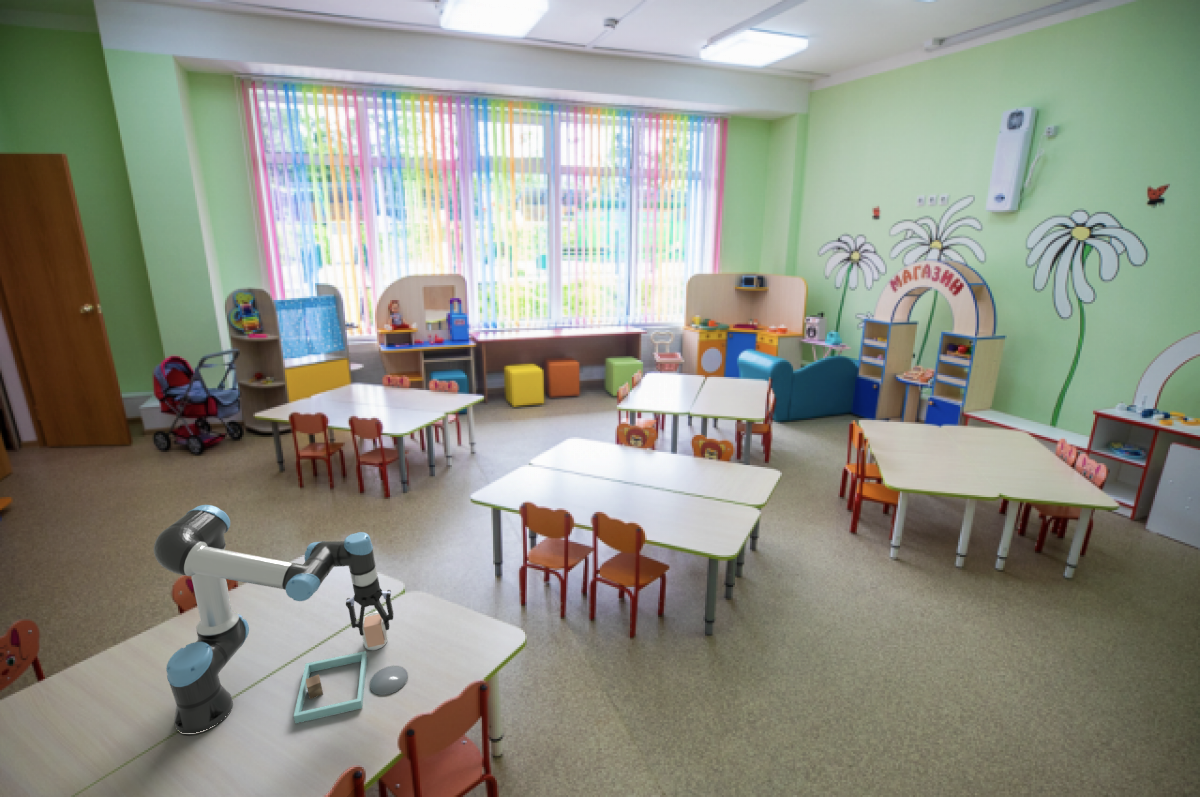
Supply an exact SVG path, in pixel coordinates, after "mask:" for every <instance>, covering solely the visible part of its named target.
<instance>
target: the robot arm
mask: <svg viewBox="0 0 1200 797" xmlns="http://www.w3.org/2000/svg"><path fill="white" fill-rule="evenodd" d="M230 528H231V519H230V517H229V515H228V514H227V513H226V512H225V511H224V510H222V509H220V508H219V507H218V506H215V505H212V504H201V505H198V506H196V507H194V508H193V509H191V510H189V511H187V512H186V514H185V515H183V516H182V517H180V518H179V519H178V520H176V521H175V522H173V523H172V524H171V525H170V526H167V528H165V529H163V531H161V532H160V533H159V534H158V536H157V537H156V539H155V541H154V545H153V555H154V557H155V560H156V561H157V563H158V564H159V565H160V566H161V567H162V568H164V569H166V571H169V572H171V573H173V574H176V575H180V576H187V577H191V581H192V585H193V591H194V596H195V601H196V604H197V610H198V615H199V622H198V623H197V625H196V627H195V628H196V633H197V634H196V635H197V641H195V642H191V643H189V644H186V645H185V647H181V648H179V649H178V650H177V651H175V652H174V653H173V654H172V656H170V658H169V660H168V661H167V664H166V667H165V669H166V677H167V682H168V683H169V686H170V689H171V692H172V695H173V698H174V701H175V704H176V708H175V713H174V720H173V721H174V723H173V724H174V726H176V727H175V729H176V728H177V730H179V731H180V732H182V733H196V732H200V731H203V730H206V729H209V728H210V727H212V726H214V725H216V724H217V723H219V722H220V721H221V720H223V719H224V718H225V716H227V715H228V713H229V712H230V711H232V710H231V709H233V708H234V707H233V706H234V701H233V698H232V695H231V694H230V692H228V691H227V689H226V688H225V687H224V686H223V685H222V684H221V680H220V677H219V675H220V672H221V671H222V669H223V668H224V667H225V666H226V664H228V662H229V661H230V660H231V659H232V658H233V656H234V655H235V654H236V653H237V652H238V651H239V649H241V647H242V646H243V644H244V643H245V642H246V639H247V638H248V636H249V632H250V626H249V623H248V621H247V620H246V619H245V618H243V615H241V614H240V613H238V612H236V611H234V610H232V605H231V600H230V594H229V593H230V592H229V589H228V583H227V580H230V581H235V582H236V581H237V582H240V583H241V582H242V583H247V584H252V585H258V586H262V587H269V588H274V589H280V590H285V593H286V595H287V597H288V598H291V599H292V600H293V601H296V602H304V601H307V600H309V599H310V598H312V596H313V595H314V594H315V593H316V592H317V591H318V589H319V588H320V587H321V584H323V582H324V580H326V578H327V577H328V575H329V574H330V573H331V571H332V570H333V568H336V567H348V569H349V572H350V573H349V574H350V578H351V583H352V589H353V594H354V595H353V596H352V597H351V598H350V597H347V598H346V600H345V606H346V607H347V608H348V613H349V618H350V624H351V628H352V629H356V628H358V632H359V635H360V636H362V635H364V639H365V644H366V645H367V641H366V636H365V631H364V623H363V618H364V616H365V610H366V608H368V607H370V606H373V607H374V608H375V609H376V611H377V612H378V613H379V615H380V616H381V618H382V628H383V634H384V639H385V640H387V636H389V635H388V631H389V630H390V622H389V621H393V619H394V610H393V605H392V599H391V597H392V596H391V595H392V591H391V589H387V591H386V590H385V591H384V590H382V589H381V586H380V582H379V577H378V570H377V565H376V562H375V561H376V560H375V555H374V546H373V544H372V543H373V542H372V540H371V537H370V535H369V534H368V533H367V532H362V531H359V532H358V531H357V532H356V533H351V534H349V535H347V536H346V538H344V540H343V541H341V540H339V541H337V540H335V541H332V540H331V541H327V540H322V541H314V542H311V543H309V544H308V545H307V547H306V550H305V552H304V563H296V562H291V561H285V560H280V559H274V558H269V557H264V556H259V555H254V554H249V553H243V552H237V551H233V550H228V549H226V546H227V544H226V539H225V533H227V532H228V531H229V529H230ZM382 597H383V599H384V600H385V604H386V609H387V611H386V610H385V608H384V607H383V605H382V603H381V600H380V599H381V598H382ZM355 603H357V604H358V605H359V606H360V612H359V617H358V618H359V619H358V620H357V616H356V610H355ZM387 641H388V640H387ZM230 713H231V712H230ZM230 713H229V714H230ZM228 716H229V715H228ZM228 716H227V717H228ZM225 719H226V718H225ZM225 719H224V720H225ZM224 720H223V721H224ZM177 730H176V731H177Z"/></svg>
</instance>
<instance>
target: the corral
mask: <svg viewBox="0 0 1200 797" xmlns="http://www.w3.org/2000/svg"><path fill="white" fill-rule="evenodd" d="M360 662H361V663H360ZM355 663H360V670H359V678H358V680H359V681H358V689H357V696H356V697H357V698H355V699H350V700H345V701H342V702H338V703H337V702H336V703H332V704H328V705H325V706H321V707H316V708H312V709H308V710H307V709H306V710H303V709H304V703H305V700H304V699H306V695H307V691H308V689H307V684H306V679H308V678H310V677H311V673H312V672H313V673H314V672H318V671H322V670H327V669H333V668H337V667H342V666H345V665H350V664H355ZM367 664H368V654H367V651H366V650H364V651H359V652H354V653H349V654H345V655H340V656H336V657H335V656H334V657H331V658H326V659H320V660H316V661H311V662H306V663H305V666H304V669H303V675H302V678H301V683H300V687H299V692H298V696H297V700H296V705H295V708H294V713H293V719H294V724H295V723H296V724H300V723H299V722H301V723H304V721H305V722H308V721H309V722H310V721H313V720H317V719H321V718H326V717H331V716H334V715H339V714H342V713H347V712H350V711H355V710H356V711H357V710H359V709H361V710H362V709H363V704H364V703H363V702H364V694H365V684H366V674H367ZM306 690H307V691H306Z"/></svg>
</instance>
